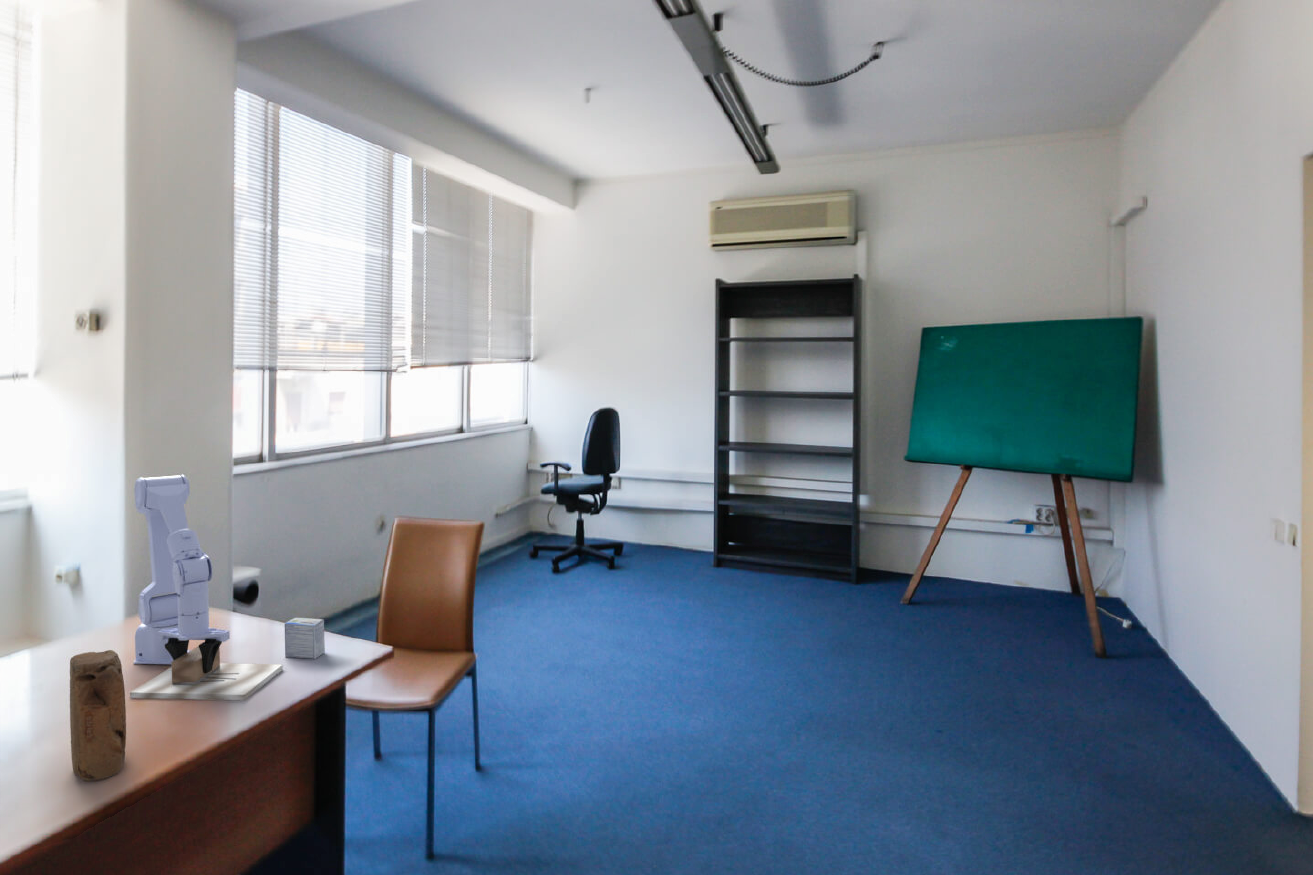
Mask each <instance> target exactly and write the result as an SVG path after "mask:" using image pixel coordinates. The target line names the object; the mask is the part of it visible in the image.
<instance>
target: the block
mask: <svg viewBox="0 0 1313 875" xmlns="http://www.w3.org/2000/svg"><path fill="white" fill-rule="evenodd" d="M122 668H123V667H122V661H121V659H120V658H119V654H118V653H117V652H116V651H115V650H113V649H109V650H105V651H100V652H99V651H97V652H96V651H88V652H83V653H79V654H75V655H74V656H72V657H71V658H70V659H69V723H70V724H69V725H70V726H69V727H70V729H69V730H70V748H71V749H70V750H71V764H72V770H73V774H74V775H76V776H77V777H79V778H80V779H81V780H82V781H87V782H89V781H98V780H103V779H107V778H109V777H111V776H113V775H115V774H117V773H119V772H120V770H121V769H122V768H123V766H124V764H125V759H126V751H125V750H126V743H127V742H126V741H127V714H126V713H127V712H126V711H127V709H126V693H125V691H126V690H125V680H124V675H123V669H122Z"/></svg>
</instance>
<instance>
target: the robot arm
mask: <svg viewBox="0 0 1313 875" xmlns="http://www.w3.org/2000/svg"><path fill="white" fill-rule="evenodd" d="M190 488H191V487H190V481H189V479H188V477H187V476H185V474H179V475H168V476H167V475H166V476H156V477H154V476H153V477H139V478H137V479H136V481H135V482H134V488H133V489H134V490H133V492H134V502H135V508H136V512H137V513H140V514H144V516H145V519H146V523H147V524H146V525H147V534H148V535H147V536H148V546H149V559H150V569H151V571H150V572H151V581H152V582H151V583H150V584H149V585H148V586H146V587H145V588H144V589H143V590H142V591H141V592H140V593H139V595H138V601H139V602H138V609H137V610H138V617H139V620H140V622H141V624H140V625H138V627H137V628H136V630H135V635H134V646H135V647H134V648H135V649H134V650H135V654H134V655H135V656H134V657H135V659H134V660H133V662H132V663H133V664H136V665H137V664H139V665H141V664H142V665H171V662H172V661H174V660H176V659H177V658H179V657H181V656H182V655H184V654H186V653H187V652H189V651H191V650H192V649H189V644H190V641H204V642H201V643H200V644H198V647H199V649H200V652H201V655H202V664H203V673H208V672H210V671H211V670H212V667H213V663H214V659H215V656H216V653H217V651H218V649H220V647H221V645H222V644H223V643H224V642H227V641H228V640H229V639H230V637H231V636H230V635H231V634H230V630H229V629H220V628H214V627H210V612H209V611H210V609H209V602H210V601H209V582H210V581H211V580H212V579H213V578H212V577H213V565H212V561H211V559H210V556H209V555H207V553H206V552H205V551H203V550H202V547H201V544H200V541H199V538H198V534H197V532H196V531H194V530H193V529H190V528H189V525H188V519H187V515H186V514H187V513H186V509H185V505H186V504H187V502H188V498H189V495H190Z"/></svg>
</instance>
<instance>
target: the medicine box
mask: <svg viewBox="0 0 1313 875" xmlns="http://www.w3.org/2000/svg"><path fill="white" fill-rule="evenodd" d="M325 643H326V642H325V620H324V619H323V618H322V619H321V618H311V617H310V618H308V617H294V618H292V619H290V620H288V621H287V622H285V623H284V657H285V658H295V659H296V658H299V659H310V660H311V659H313V660H316V659H317V658H318V657H320V656H321V655H322V654H324V653H325V652H326V650H325V649H326V648H325V646H326V645H325Z"/></svg>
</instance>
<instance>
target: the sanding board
mask: <svg viewBox="0 0 1313 875" xmlns="http://www.w3.org/2000/svg"><path fill="white" fill-rule="evenodd" d="M283 665H284V664H269V663H267V664H266V663H265V664H263V663H259V664H258V663H228V662H227V663H225V662H223V663H222V662H220V669H218V670H217V671H215V672H214V673H212V674H211V675H209V676H208V677H206V678H205V679H203V680H202V681H200V682H199V683H197V684H196V685H177V684H172V666H170V667H169V668H168V669H165V670H163V672H161V673H158V675H156V676H154V677H152V678H151V679H149V680H147V681H146V682H144V683H142V684H141V685H139V686H137V687H136V688H135V689H133V690H131V691H129V698H131V699H161V700H162V699H166V700H167V699H169V700H170V699H171V700H210V701H211V700H212V701H213V700H215V701H246V700H247V699H248V698H249V697H251V695H253V694H255V692H257V691H258V690H259V689H260V688H262V687H263V686H264V685H265V684H267V683H268V682H269V681H270V680H272V679H273V678H274V677H275V676H277V675H279V673H281V671H283V668H284V667H283ZM276 674H277V675H276Z"/></svg>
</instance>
